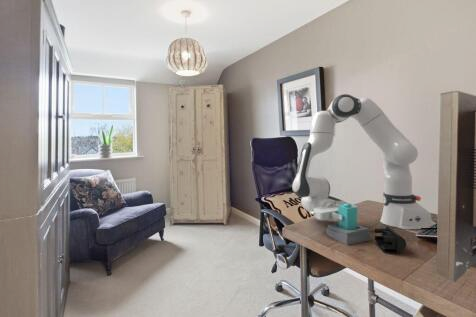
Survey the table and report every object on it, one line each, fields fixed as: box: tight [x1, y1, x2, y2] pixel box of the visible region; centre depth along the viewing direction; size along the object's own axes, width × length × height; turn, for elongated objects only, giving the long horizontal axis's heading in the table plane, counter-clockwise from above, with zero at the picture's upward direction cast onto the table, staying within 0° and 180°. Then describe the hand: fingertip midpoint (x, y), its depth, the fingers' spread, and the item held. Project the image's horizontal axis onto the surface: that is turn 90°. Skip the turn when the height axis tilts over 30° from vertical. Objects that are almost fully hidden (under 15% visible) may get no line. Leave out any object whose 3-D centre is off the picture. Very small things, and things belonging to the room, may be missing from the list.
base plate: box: [325, 222, 372, 246], centre depth 108 cm, size 12×12×4 cm
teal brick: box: [337, 202, 358, 231], centre depth 107 cm, size 5×5×10 cm
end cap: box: [374, 226, 407, 255], centre depth 96 cm, size 10×7×7 cm
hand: (349, 216), depth 107 cm, fingers closed on teal brick, 5 cm apart
